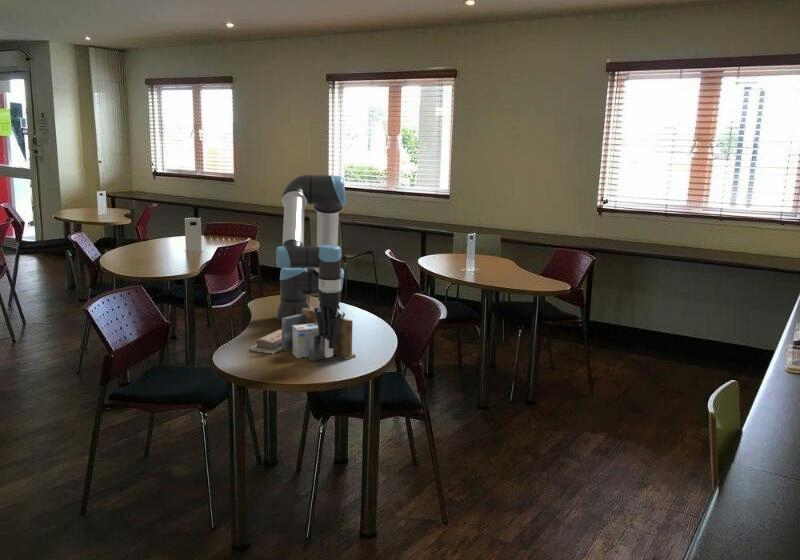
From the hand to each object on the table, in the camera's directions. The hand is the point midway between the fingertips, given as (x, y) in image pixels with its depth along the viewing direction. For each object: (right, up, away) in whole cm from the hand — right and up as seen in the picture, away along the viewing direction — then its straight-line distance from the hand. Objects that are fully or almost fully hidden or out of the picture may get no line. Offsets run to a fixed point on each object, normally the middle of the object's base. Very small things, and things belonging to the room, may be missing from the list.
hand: (328, 356), depth 230 cm
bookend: (-4, -1, +3) cm, 5 cm away
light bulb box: (-8, 0, +8) cm, 11 cm away
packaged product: (-22, +1, +16) cm, 27 cm away
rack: (-5, 0, +9) cm, 10 cm away
